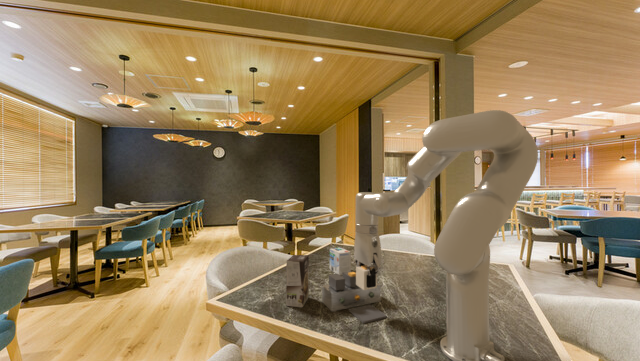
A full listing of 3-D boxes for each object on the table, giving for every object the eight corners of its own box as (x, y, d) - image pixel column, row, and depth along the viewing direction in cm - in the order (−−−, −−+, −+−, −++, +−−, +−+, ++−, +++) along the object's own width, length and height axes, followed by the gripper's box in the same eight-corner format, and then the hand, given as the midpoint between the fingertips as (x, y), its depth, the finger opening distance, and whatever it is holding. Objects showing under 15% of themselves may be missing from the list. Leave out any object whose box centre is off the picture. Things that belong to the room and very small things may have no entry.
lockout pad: (386, 317, 86) (386, 315, 86) (363, 323, 82) (363, 321, 82) (371, 306, 94) (370, 304, 94) (348, 310, 91) (348, 309, 91)
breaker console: (381, 301, 98) (381, 285, 98) (332, 312, 90) (332, 294, 90) (368, 293, 106) (368, 277, 106) (322, 301, 98) (322, 285, 98)
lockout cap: (376, 287, 87) (377, 267, 87) (363, 290, 85) (364, 269, 85) (368, 282, 92) (368, 263, 92) (355, 284, 90) (356, 265, 90)
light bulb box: (329, 269, 135) (329, 248, 136) (340, 267, 138) (340, 246, 139) (339, 276, 126) (339, 253, 126) (351, 274, 129) (351, 251, 129)
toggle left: (345, 289, 94) (345, 278, 94) (336, 290, 92) (336, 280, 92) (337, 283, 99) (337, 273, 99) (328, 284, 98) (328, 274, 98)
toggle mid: (359, 285, 96) (359, 273, 97) (350, 287, 95) (350, 275, 95) (350, 280, 102) (350, 268, 102) (342, 281, 101) (342, 270, 101)
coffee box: (303, 307, 93) (303, 261, 93) (285, 306, 94) (285, 260, 95) (309, 297, 102) (309, 254, 102) (293, 295, 103) (293, 254, 104)
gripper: (392, 233, 83) (391, 291, 82) (362, 224, 98) (362, 274, 98) (371, 234, 80) (371, 295, 79) (344, 226, 95) (344, 276, 95)
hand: (366, 283), depth 89 cm, fingers closed on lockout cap, 4 cm apart
